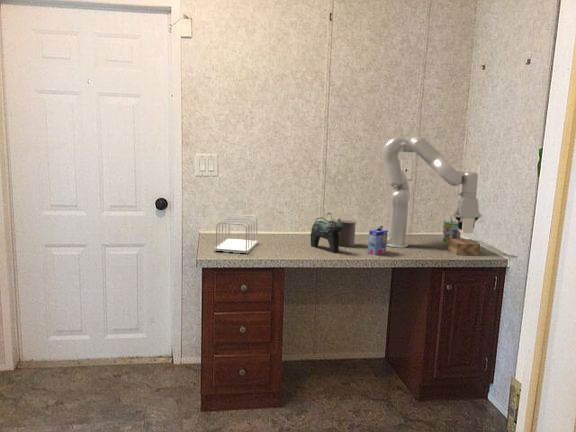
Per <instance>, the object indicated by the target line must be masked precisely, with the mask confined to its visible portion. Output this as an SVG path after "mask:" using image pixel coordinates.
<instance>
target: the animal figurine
mask: <svg viewBox="0 0 576 432" xmlns="http://www.w3.org/2000/svg"><path fill="white" fill-rule="evenodd" d="M326 215H327V216H328V215H330V220H327V219H326V218H324V217H322V219H321V217H317V218H316V219H315V221H314V223H313V224H312V227H311V233H310V247H312V248H318V247H319V244H320V243H319V242H320V240H321V238H322V239H324V240H326V241H327V242H328V244H329V245H328V246H329V252H330V253H334V254H335V253H339V251H340V246H339V234H338V232H340V231H342V228H343V224H342V222H341V221H340V220H341V218H338V219H335V218H333V216H332V213H331V212H327V214H326ZM319 219H321V220H319Z"/></svg>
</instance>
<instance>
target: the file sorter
mask: <svg viewBox="0 0 576 432" xmlns="http://www.w3.org/2000/svg"><path fill="white" fill-rule="evenodd" d="M253 218H254V219H255V220H254V219H253ZM252 222H253V223H252ZM249 223H250V224H249ZM224 224H225V225H224ZM246 224H247V225H246ZM227 225H228V233H227ZM230 225H234V226H236V225H237V226H244V227H245V239H239V238H230ZM224 228H225V230H224ZM224 231H225V233H224ZM224 234H225V236H224ZM227 234H228V235H227ZM221 235H222V236H221ZM224 237H225V238H224ZM252 237H253V238H252ZM221 238H222V239H221ZM224 239H225V240H224ZM258 244H259V240H258V219H257V217H256V216H254V215H247V214H231V215H230V216H228V217H226V218H224V219H223V220H220V221H219V222H218V223H217V224H216V228H215V247H214V248H213V251H214V252H216V251H223V252H222V253H229V252H233V253H232V254H240V253H246V254H245V255H248V254H249V253H250V252H251V251H252V250H253V249H254V248H255V247H256V246H257V245H258Z"/></svg>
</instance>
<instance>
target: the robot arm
mask: <svg viewBox="0 0 576 432" xmlns="http://www.w3.org/2000/svg"><path fill="white" fill-rule="evenodd" d="M399 153H415V154H416V155H417V156H418V157H420V158H421V159H422V160H423V161H424V162H425V163H426V164H427V165H428V166H429V167H430V168H431V169H432V170H433V171H435V172H436V174H438V175H439V176H440V177H441V179H443V180H444V181H445V182H446V183H447V184H448V185H449V186H451V187H457V186H459V185H461V191H460V192H458V196H460V197H459V198H458V203H457V210H455V212H453V214H452V216H453V218H455V219H456V221H457V222H458V228H459V229H460V230H462V219H463V217H474V224H473V229H474V228H475V223H476V222H477V221H478V219H481V217H482V215H481V213H480V212H479V198H477V193H478V192H477V190H478V182H479V181H478V180H479V179H478V178H479V174H478V173H477V172H475V171H460V170H456V169H455V168H454V167H453V166H452V165H451V164H450V163H449V162H448V161H447V160H446V159H445V157H444V156H443V154H442V153H441V152H440V151H438V150H437V149H436V148H435V147H434V146H433V145H432V144H431V143H430V142H429V141H428V140H427V138H425V137H424V136H394V137H392V138H391V139H389V140H388V141H387V142H386V143H385V144H384V146H383V149H382V153H381V155H382V161H383V167H384V171H385V175H386V182H387V184H388V185H389V186H390V189H391V192H392V193H391V195H390V197H389V198H390V200H389V224H388V234H387V243H386V247H389V248H397V249H398V248H399V249H402V248H408V247H409V243H407V242H406V241H407V240H406V238H407V225H408V212H409V207H408V206H409V201H410V198H411V191H410V187H409V184H408V180H407V176H406V173H405V172H404V171H403V170H402V167H401V164H400V160H399V159H400V158H399Z"/></svg>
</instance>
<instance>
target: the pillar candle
mask: <svg viewBox="0 0 576 432" xmlns="http://www.w3.org/2000/svg"><path fill="white" fill-rule="evenodd" d="M340 221H341V222H342V224H343V228H342V231H340V232H338V234H339V247H341V248H353V247H354V246H355V237H356V236H355V235H356V220H352V219H340Z"/></svg>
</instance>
